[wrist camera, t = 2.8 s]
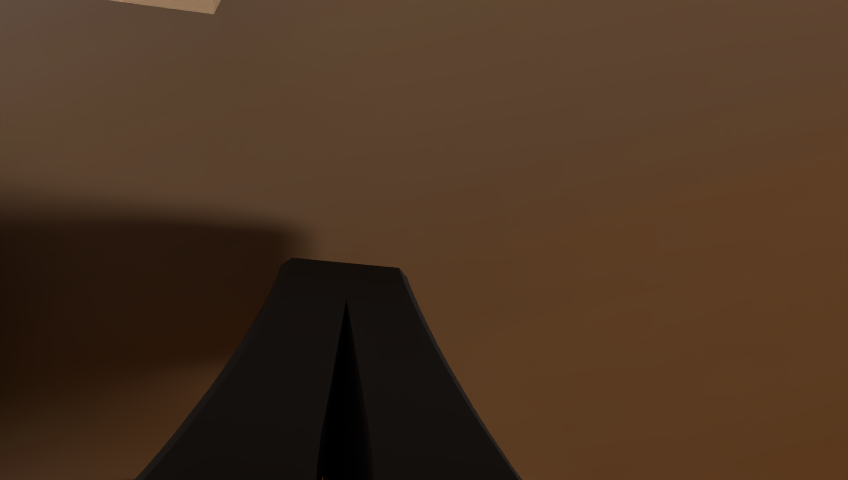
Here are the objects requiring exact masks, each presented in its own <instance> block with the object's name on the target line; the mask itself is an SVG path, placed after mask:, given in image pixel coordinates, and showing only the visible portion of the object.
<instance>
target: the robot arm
mask: <svg viewBox="0 0 848 480" xmlns="http://www.w3.org/2000/svg"><path fill="white" fill-rule="evenodd" d="M322 478H323V480H522V479H521V478H520V477H519V475H518V474H517V472H516V471H515V470H514V468H513V467H512V465H511V464H510V462H509V461H508V459H507V458H506V457H505V455H504V454H503V452H502V451H501V449H500V448H499V446H498V445H497V443H496V442H495V440H494V439H493V437H492V436H491V434H490V433H489V431H488V430H487V428H486V427H485V425H484V423H483V422H482V420H481V419H480V417H479V416H478V414H477V412H476V411H475V409H474V408H473V406H472V404H471V403H470V401H469V399H468V397H467V396H466V394H465V392H464V391H463V389H462V387H461V385H460V384H459V382H458V380H457V379H456V377H455V375H454V373H453V372H452V370H451V368H450V367H449V365H448V363H447V361H446V359H445V357H444V356H443V354H442V352H441V350H440V348H439V346H438V344H437V342H436V340H435V339H434V337H433V335H432V333H431V331H430V329H429V327H428V325H427V323H426V321H425V319H424V316H423V314H422V312H421V310H420V308H419V306H418V303H417V301H416V299H415V297H414V294H413V292H412V290H411V287H410V285H409V282H408V279H407V277H406V276H405V275H404V273H403V272H402V271H401V270H400V269H399V268H393V267H383V266H372V265H362V264H351V263H341V262H330V261H320V260H309V259H299V258H291V259H289V260H288V261H286V262H285V263H284V264H282V265H281V266H280V270H279V273H278V276H277V278H276V281H275V283H274V285H273V287H272V289H271V292H270V294H269V296H268V298H267V299H266V301H265V303H264V305H263V307H262V309H261V310H260V312H259V314H258V316H257V317H256V319H255V321H254V322H253V324H252V326H251V328H250V329H249V331H248V333H247V334H246V336H245V337H244V339H243V340H242V342H241V343H240V345H239V346H238V348H237V349H236V351H235V352H234V354H233V355H232V357H231V358H230V360H229V361H228V363H227V364H226V366H225V367H224V369H223V370H222V372H221V373H220V375H219V376H218V377H217V379H216V380H215V382H214V383H213V384H212V386H211V387H210V388H209V390H208V391H207V392H206V394H205V395H204V396H203V397H202V399H201V400H200V401H199V403H198V404H197V405H196V406H195V408H194V409H193V410H192V412H191V413H190V414H189V415H188V417H187V418H186V419H185V421H184V422H183V423H182V425H181V426H180V427H179V428H178V430H177V431H176V432H175V434H174V435H173V436H172V437H171V439H170V440H169V441H168V442H167V443H166V445H165V446H164V447H163V448H162V449H161V450H160V452H159V453H158V454H157V455H156V456H155V457H154V459H153V460H152V461H151V462H150V463H149V465H148V466H147V467H146V468H145V469H144V470H143V471H142V472H141V474H140V475H139V476H138V477H137V478H136V479H135V480H322Z"/></svg>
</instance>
